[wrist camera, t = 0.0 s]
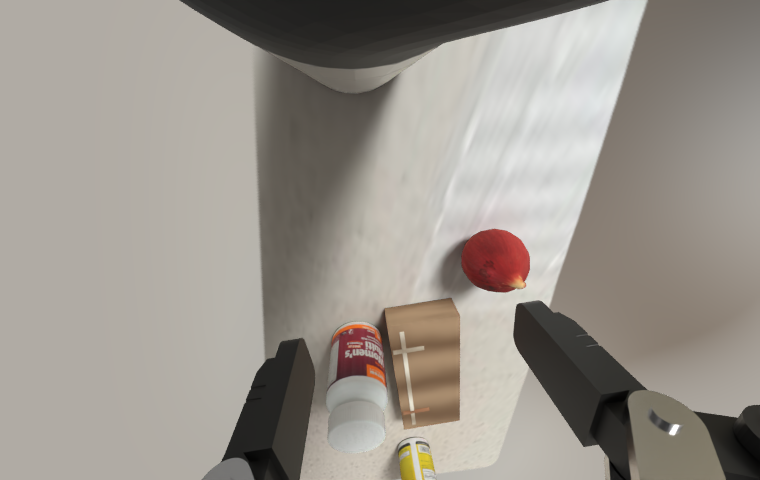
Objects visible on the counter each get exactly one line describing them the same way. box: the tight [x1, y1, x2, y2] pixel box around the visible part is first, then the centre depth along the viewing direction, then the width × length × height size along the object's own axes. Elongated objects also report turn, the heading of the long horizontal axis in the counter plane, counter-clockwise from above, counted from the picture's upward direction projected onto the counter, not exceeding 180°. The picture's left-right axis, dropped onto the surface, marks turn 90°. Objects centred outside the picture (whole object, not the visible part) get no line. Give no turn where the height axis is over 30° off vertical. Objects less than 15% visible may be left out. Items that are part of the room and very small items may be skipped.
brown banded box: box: [385, 298, 460, 429], centre depth 35 cm, size 20×8×3 cm, turn 8°
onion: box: [461, 229, 530, 292], centre depth 25 cm, size 6×6×8 cm
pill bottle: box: [326, 321, 388, 453], centre depth 28 cm, size 6×6×11 cm
